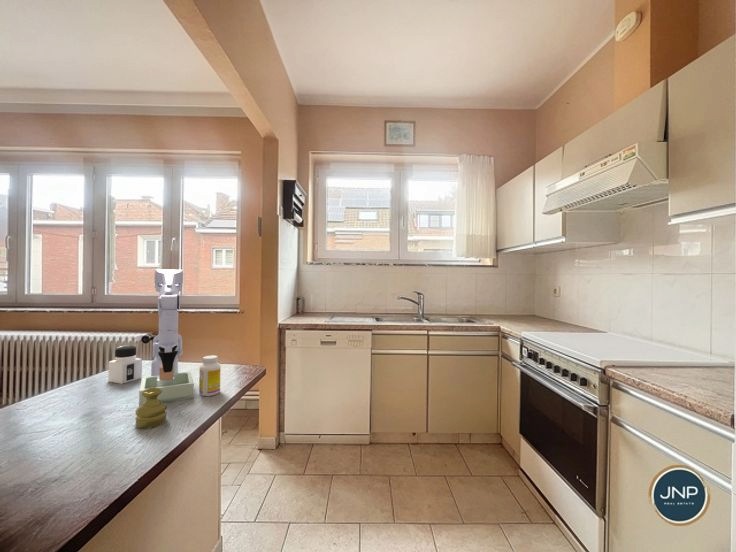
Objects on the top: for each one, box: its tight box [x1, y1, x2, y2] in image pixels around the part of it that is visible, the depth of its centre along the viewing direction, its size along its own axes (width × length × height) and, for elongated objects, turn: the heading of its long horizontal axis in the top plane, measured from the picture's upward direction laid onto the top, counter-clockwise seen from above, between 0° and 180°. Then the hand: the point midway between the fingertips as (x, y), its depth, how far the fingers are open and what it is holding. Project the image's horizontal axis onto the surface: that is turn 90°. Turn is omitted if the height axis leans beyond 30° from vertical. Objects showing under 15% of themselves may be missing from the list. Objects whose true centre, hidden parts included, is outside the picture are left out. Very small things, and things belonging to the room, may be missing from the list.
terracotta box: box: [159, 365, 174, 380], centre depth 113 cm, size 4×4×4 cm
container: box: [107, 344, 143, 385], centre depth 127 cm, size 8×8×13 cm
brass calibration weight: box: [135, 387, 168, 429], centre depth 92 cm, size 7×7×10 cm
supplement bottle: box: [198, 354, 221, 397], centre depth 115 cm, size 7×7×13 cm
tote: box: [138, 371, 195, 407], centre depth 113 cm, size 15×15×5 cm
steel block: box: [157, 375, 175, 387], centre depth 113 cm, size 5×5×5 cm
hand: (167, 369), depth 113 cm, fingers open, 7 cm apart
